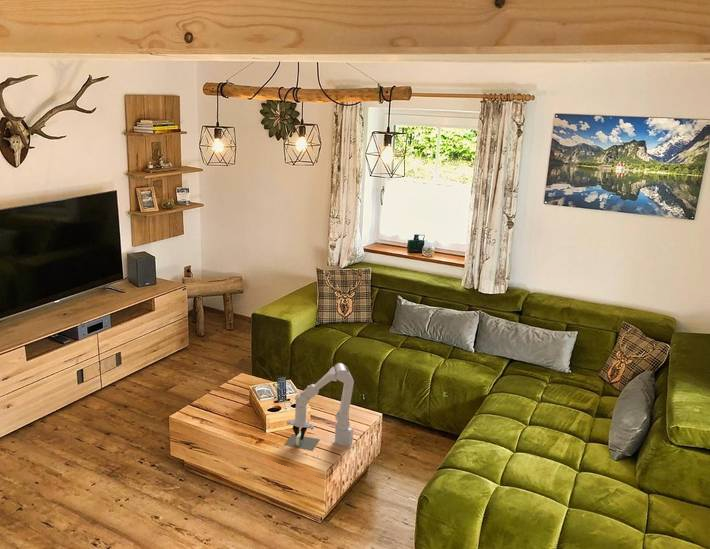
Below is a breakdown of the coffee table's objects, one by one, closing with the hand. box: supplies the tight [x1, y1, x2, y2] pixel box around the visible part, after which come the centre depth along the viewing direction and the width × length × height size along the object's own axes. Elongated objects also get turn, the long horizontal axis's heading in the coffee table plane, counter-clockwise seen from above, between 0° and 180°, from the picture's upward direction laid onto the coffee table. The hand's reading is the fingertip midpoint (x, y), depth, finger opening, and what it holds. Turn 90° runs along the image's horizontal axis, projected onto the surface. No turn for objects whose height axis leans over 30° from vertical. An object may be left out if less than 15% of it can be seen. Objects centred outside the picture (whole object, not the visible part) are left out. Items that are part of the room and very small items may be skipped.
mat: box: [283, 433, 321, 452], centre depth 331 cm, size 16×12×1 cm
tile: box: [296, 430, 304, 446], centre depth 329 cm, size 2×6×5 cm, turn 164°
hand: (299, 438), depth 329 cm, fingers closed on tile, 2 cm apart
